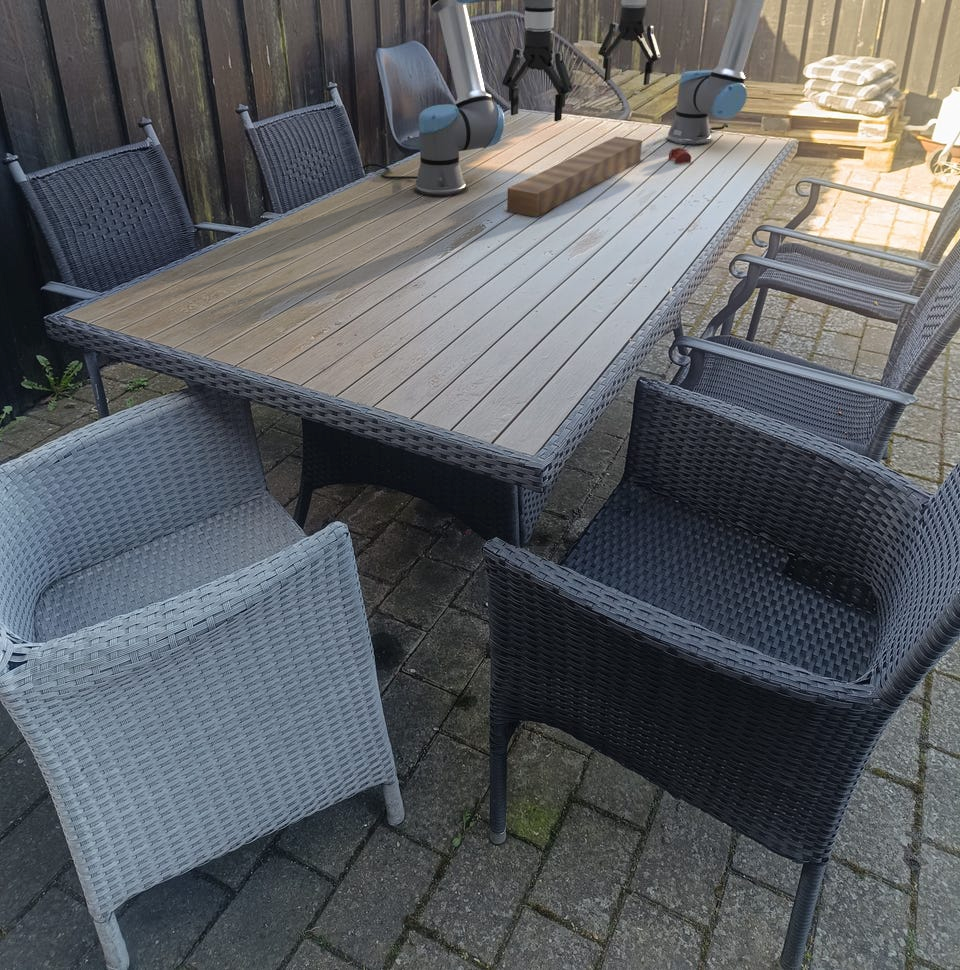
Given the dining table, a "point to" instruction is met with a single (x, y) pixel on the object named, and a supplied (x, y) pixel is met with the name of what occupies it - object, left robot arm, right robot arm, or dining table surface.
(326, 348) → the dining table surface
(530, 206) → the wooden beam
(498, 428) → the dining table surface
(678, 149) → the dark red lumpy piece
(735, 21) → the right robot arm
